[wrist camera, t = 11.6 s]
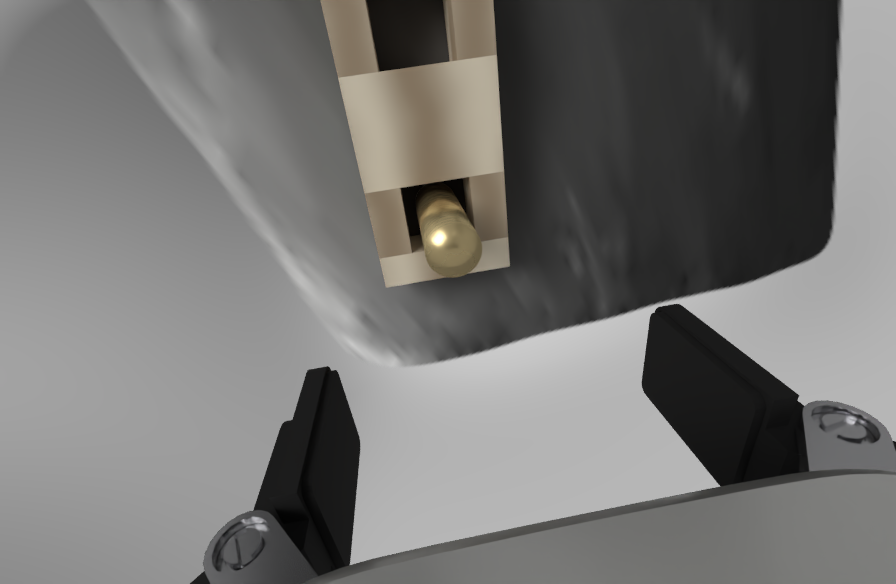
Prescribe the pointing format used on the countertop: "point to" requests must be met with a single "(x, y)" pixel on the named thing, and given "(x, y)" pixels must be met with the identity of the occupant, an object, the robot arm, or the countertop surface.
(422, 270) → the hole block
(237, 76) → the countertop surface
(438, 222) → the brass peg
